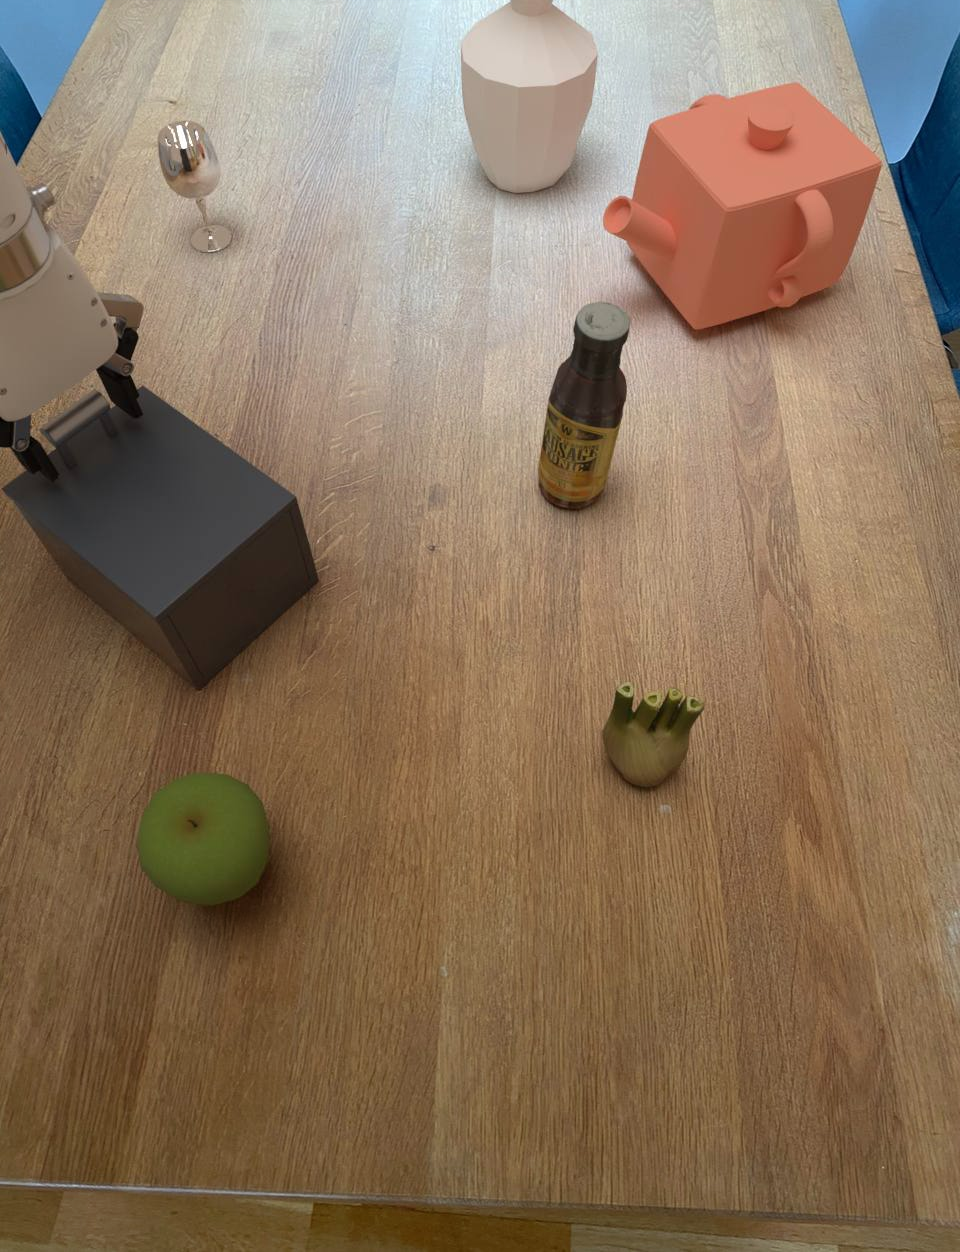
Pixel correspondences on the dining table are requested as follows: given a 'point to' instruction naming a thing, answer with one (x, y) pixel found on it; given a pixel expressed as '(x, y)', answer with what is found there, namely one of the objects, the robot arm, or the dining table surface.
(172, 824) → the apple
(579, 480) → the sauce bottle
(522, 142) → the vase
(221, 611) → the chest
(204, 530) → the lid
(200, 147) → the wineglass
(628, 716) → the fennel bulb
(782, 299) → the teapot
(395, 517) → the dining table surface
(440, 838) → the dining table surface
